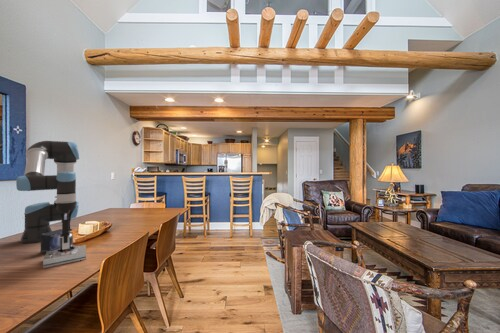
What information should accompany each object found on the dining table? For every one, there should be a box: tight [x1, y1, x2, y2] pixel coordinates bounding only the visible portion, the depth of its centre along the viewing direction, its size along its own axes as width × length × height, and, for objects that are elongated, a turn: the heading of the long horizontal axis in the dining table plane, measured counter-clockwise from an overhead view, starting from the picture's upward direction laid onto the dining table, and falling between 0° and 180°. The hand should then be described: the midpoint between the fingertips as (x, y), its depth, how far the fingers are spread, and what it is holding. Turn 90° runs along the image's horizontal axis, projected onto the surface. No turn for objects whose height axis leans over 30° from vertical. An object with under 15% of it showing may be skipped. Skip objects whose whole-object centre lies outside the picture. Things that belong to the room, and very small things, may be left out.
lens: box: [60, 231, 74, 252], centre depth 111 cm, size 5×5×9 cm
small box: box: [39, 228, 62, 254], centre depth 123 cm, size 11×6×10 cm, turn 168°
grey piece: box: [42, 244, 87, 269], centre depth 111 cm, size 12×16×5 cm
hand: (66, 246), depth 111 cm, fingers open, 8 cm apart
